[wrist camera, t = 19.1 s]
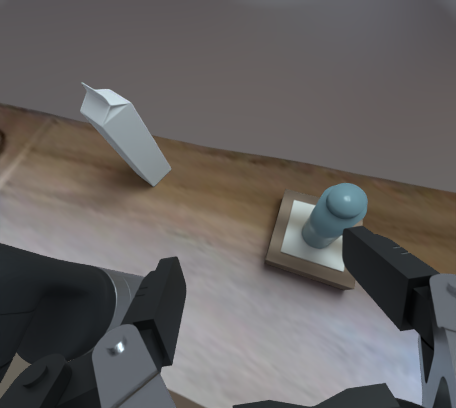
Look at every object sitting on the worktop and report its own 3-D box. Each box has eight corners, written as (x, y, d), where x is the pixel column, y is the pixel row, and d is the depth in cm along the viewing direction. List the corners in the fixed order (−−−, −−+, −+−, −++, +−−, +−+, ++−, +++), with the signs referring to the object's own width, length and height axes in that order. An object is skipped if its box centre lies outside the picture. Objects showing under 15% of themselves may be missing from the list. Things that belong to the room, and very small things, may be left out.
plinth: (343, 290, 37) (355, 288, 33) (264, 263, 40) (265, 258, 36) (354, 216, 42) (365, 208, 38) (282, 197, 45) (285, 188, 41)
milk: (154, 187, 49) (86, 111, 29) (137, 174, 51) (62, 94, 31) (172, 168, 51) (120, 84, 30) (155, 156, 52) (95, 69, 32)
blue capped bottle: (330, 253, 35) (370, 225, 23) (298, 242, 36) (320, 211, 24) (336, 224, 37) (376, 185, 25) (305, 215, 38) (329, 174, 26)
